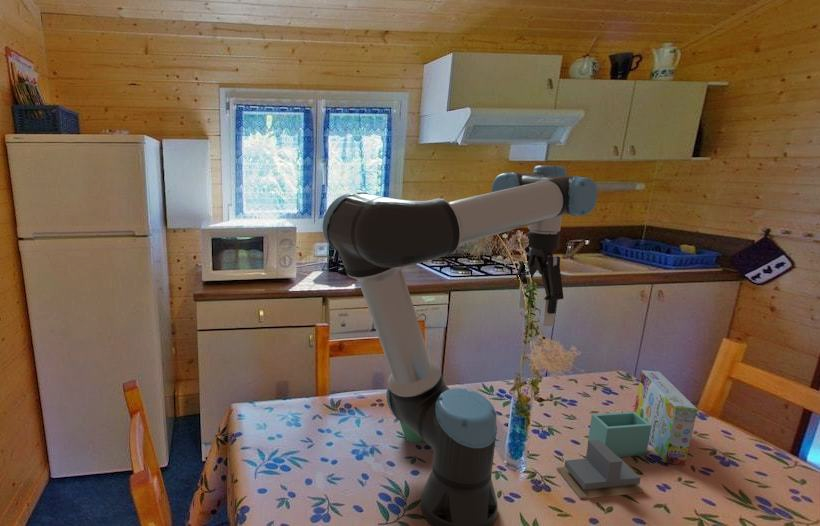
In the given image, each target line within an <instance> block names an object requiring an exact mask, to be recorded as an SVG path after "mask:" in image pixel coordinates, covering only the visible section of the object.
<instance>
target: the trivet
mask: <svg viewBox="0 0 820 526" xmlns="http://www.w3.org/2000/svg"><path fill="white" fill-rule="evenodd" d="M556 470H557V472H558V473H559V474H560V476H561V477H562V478H563V479H564V481H565V482H566V483H567V485H569V487H570V488H571V490H572V491H574V493H575V495H577V497H578V498H579V500H586V499H595V498H606V497H615V496H621V495H631V494H640V493H641V494H642V493H643V492H644V490H643V489H642V488H641V487H640V486H639V485H638V484H632V485H623V486H614V487H605V488H596V489H587V490H584V489H583V488H582V487H581V485H580V484H579V483H578V482H577V481H576V479H575V478H574V477H573V476H572V475H571V473H570V472H569V471H568V470H567V469H566V468H565V466H561V467H560V466H559V467H556Z"/></svg>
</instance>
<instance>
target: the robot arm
mask: <svg viewBox="0 0 820 526" xmlns="http://www.w3.org/2000/svg"><path fill="white" fill-rule="evenodd" d="M567 172H568V171H567V169H566V168H565V167H564V166H559V165H536V166H534V168H533V173H522V172H511V171H510V172H503V173H500V174H499V175H497V176H496V177H495V178H494V180H493V182H492V185H491V192H488V193H484V194H478V195H474V196H473V195H472V196H469V197H465V198H461V199H456V200H452V201H448V200H446V199H444V198H433V199H427V200H408V199H401V198H395V197H388V196H387V197H386V196H380V195H374V194H371V193H368V192H362V191H361V192H349V193H345V194H343V195H341V196H338V197H337V198H335V200H333V201H332V202H331V203H330V205H329V206H328V207H327V210H326V212H325V214H324V216H323V221H322V233H323V236H324V239H325V240H326V243H327V244H328V245H329V246H330V247H331V248H332V249H333V250H335V251H336V252H338V253H339V257H340V259H341V262H342V265H343V267H344V270H345V273H346V275H347V276H348V277H350V278H352V279H355V280H357V282H358V284H359V287H360V289H361V293H362V295H363V298H364V301H365V304H366V306H367V309H368V311H369V314H370V317H371V320H372V323H373V326H374V329H375V331H376V334H377V336H378V337H377V338H378V340H379V343H380V345H381V348H382V351H383V353H384V354H383V355H384V357H385V360H386V362H387V364H388V367H389V370H390V372H391V373H390V375H389V376H388V380H387V385H388V388H387V389H386V393H385V394H386V397H385V398H386V402H387V406H388V408H389V410H390V411H391V413H392V414H393V416H394V417H395V418H396V419H397V420H398V421H399V422H402V423H403V424H405V425H406V426H407V427H409V428H410V429H411V430H412V431H413V432H414V433H415V434H417V435H418V436H419V437H420V438H421V439H422V441H423V442H424V443H426V444H427V445H428V446H429V447H430V448H431V449H432V452H433V454H432V467H431V468H432V470H431V472H430V474H429V476H428V478H427V481H426V483H425V485H424V487H423V490H422V493H421V501H420V502H421V504H420V506H421V507H420V509H421V513H422V515H423V517H424V519H425V520H426V521H427V523H428V524H429V525H431V526H494V525H495V524H496V521H497V518H498V517H497V516H498V508H499V507H498V500H497V496H496V492H495V487H494V484H493V481H492V472H493V466H494V465H493V464H494V454H495V446H496V439H497V433H498V432H497V431H498V426H497V413H496V410H495V407H494V405H493V404H492V403H491V401H490V400H489V399H487V397H485V396H483V395H482V394H481V393H479V392H477V391H474V390H468V389H467V388H460V387H458V388H449V387H448V386H447V384H446V383H445V378H444V376H443V373H442V370H441V367H440V365H439V363H437V362H436V361H435V360H432V359H431V358H430V355H429V352H428V349H427V345H426V342H425V339H424V335H423V332H422V329H421V326H420V323H419V320H418V316H417V313H416V310H415V306H414V304H413V300H412V297H411V294H410V292H409V287H408V284H407V281H406V278H405V275H404V271H403V268H402V267H408V266H412V265H418V264H421V263H425V262H428V261H432V260H437V259H439V258H442V257H446V256H449V255H452V254H454V253H455V252H456V251H457V250H458V248H459V246H461V245H465V244H469V243H471V242H476V241H478V240H479V241H480V240H481V239H485V238H488V237H489V238H490V237H492V236H495V235H499V234H502V233H506V232H509V231H512V230H515V229H520V228H522V227H526V226H527V229H528V230H529V231H527V233H526V234H527V235H526V236H527V237H528V238H529V245H528V246H525V247H526V248H525V247H524V250H525V251H526V254H527V261H528V264H529V268H530V274H531V278H533V277H534V275H535V274H536V272H537V271H538V274H539V275H541V279H542V284H543V287H544V292H545V297H544V298H543V299H544V301H543V307H542V309H543V310H542V316H541V317H542V319H541V326H542V327H554V326H555V319H556V310H557V303H558V300H564V291H563V282H562V276H561V273H562V272H561V257H560V256H554V255H553V253H554V252H553V251H555V250H558V249H559V247H560V246H559V245H560V237H561V235H560V234H559V232H560V231H561V226H562V225H561V224H562V221H563V218H562V217H563V216H565V215H570V216H572V217H576V216H579V217H584V216H588V215H589V214H590V213H592V211H593V210H594V209H595V208H596V205H597V202H598V198H599V197H598V186H597V184H596V182H595V181H594V180H593V179H592V178H590V177H583V176H578V175H575V176H574V175H567ZM527 237H526V238H527ZM525 271H526V270H525V265H524V263H523V261H522V260H521V262H520V265H519V267H518V270H517V273H516V276H515V277H516V279H517V280H518V281H519V291H518V301H517V308H518V309H526V308H525V300H524V294H523V291H522V287H521V283H520V280H519V277H520V279H521V280H522V282H523V285H524V287H526V286H527V284H528V283H527V279H526V277H525V276H524V274H525ZM518 275H519V277H518Z"/></svg>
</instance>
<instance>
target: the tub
mask: <svg viewBox="0 0 820 526" xmlns="http://www.w3.org/2000/svg"><path fill="white" fill-rule="evenodd" d="M650 430H651V425H650V424H649V423H648V422H647V421H645V420H644V419H643V418H641V417H640V416H639V415H638V414H636V413H635V412H634V411H622V412H608V413H607V412H606V413H595V414H594V413H593V414H592V413H591V418H590V423H589V433H588V438H587V442H588V441H593V440H601V441H602V442H603V443H604V444H605V445H606V446H607V447H608V448H609V449H610V450H611V451H612V452H613V453H614V454H615V455H616V456H618V457H620V458H623V457H624V458H625V457H635V456H646V455H647V452H648V447H649V443H650V441H649V436H650Z"/></svg>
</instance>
